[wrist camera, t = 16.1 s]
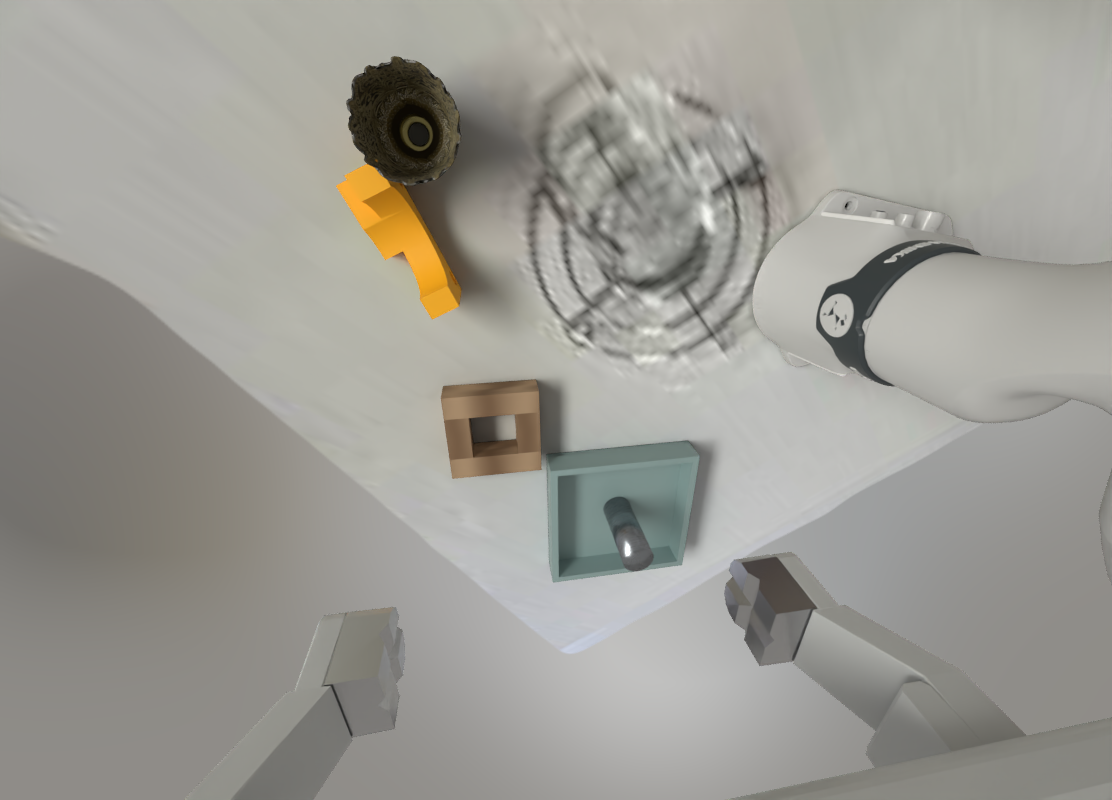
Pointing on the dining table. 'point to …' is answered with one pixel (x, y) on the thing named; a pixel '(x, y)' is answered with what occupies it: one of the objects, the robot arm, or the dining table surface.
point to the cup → (403, 121)
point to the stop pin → (628, 534)
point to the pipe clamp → (401, 234)
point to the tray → (631, 472)
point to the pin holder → (492, 402)
